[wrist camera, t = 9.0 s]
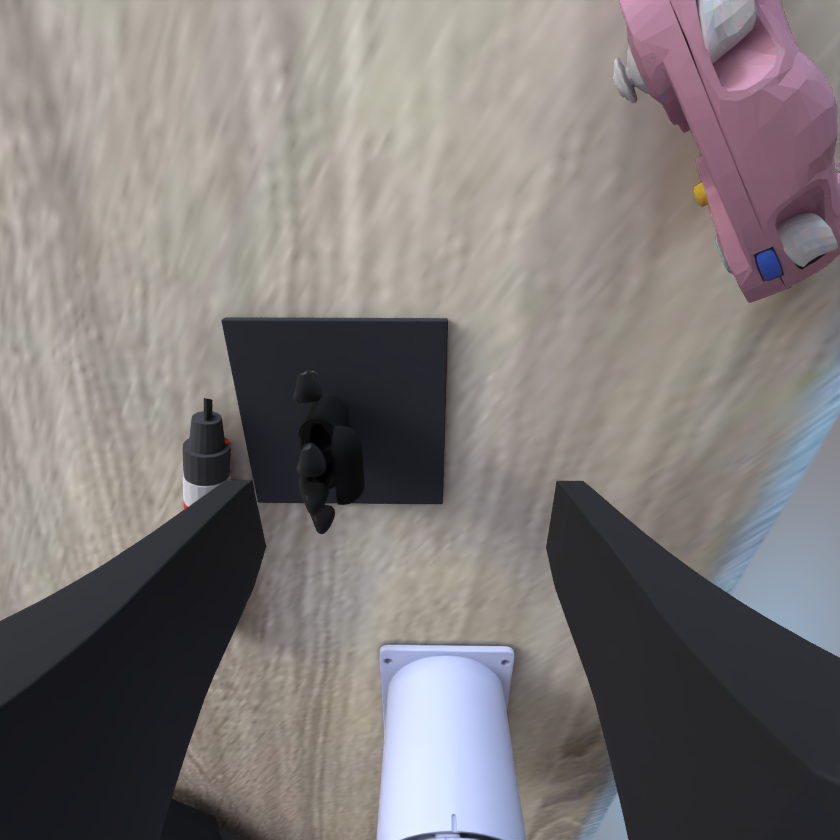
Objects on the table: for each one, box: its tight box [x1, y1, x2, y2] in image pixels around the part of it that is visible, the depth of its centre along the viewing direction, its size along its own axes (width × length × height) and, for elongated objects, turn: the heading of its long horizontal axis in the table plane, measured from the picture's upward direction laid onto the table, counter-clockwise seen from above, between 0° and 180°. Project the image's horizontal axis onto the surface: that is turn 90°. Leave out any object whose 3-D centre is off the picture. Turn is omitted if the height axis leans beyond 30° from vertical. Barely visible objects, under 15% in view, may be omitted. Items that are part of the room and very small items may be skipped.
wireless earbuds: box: [293, 370, 365, 534], centre depth 18 cm, size 7×2×5 cm, turn 0°
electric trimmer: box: [159, 799, 240, 840], centre depth 36 cm, size 4×16×3 cm, turn 30°
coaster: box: [222, 318, 448, 504], centre depth 20 cm, size 9×9×1 cm
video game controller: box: [613, 0, 840, 303], centre depth 13 cm, size 10×5×7 cm, turn 38°
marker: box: [183, 398, 231, 510], centre depth 22 cm, size 15×2×2 cm, turn 168°
